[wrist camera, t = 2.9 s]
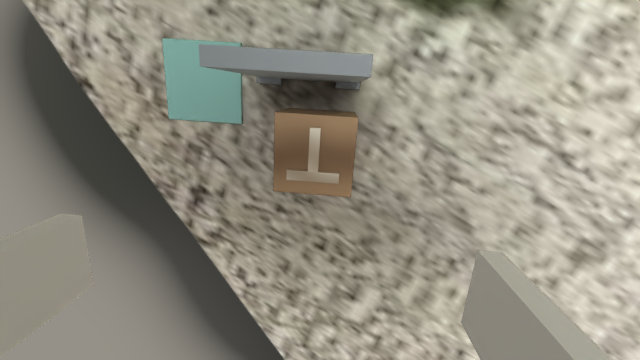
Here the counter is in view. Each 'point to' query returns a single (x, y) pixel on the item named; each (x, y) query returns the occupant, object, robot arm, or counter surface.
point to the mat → (200, 85)
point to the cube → (314, 151)
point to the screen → (289, 64)
